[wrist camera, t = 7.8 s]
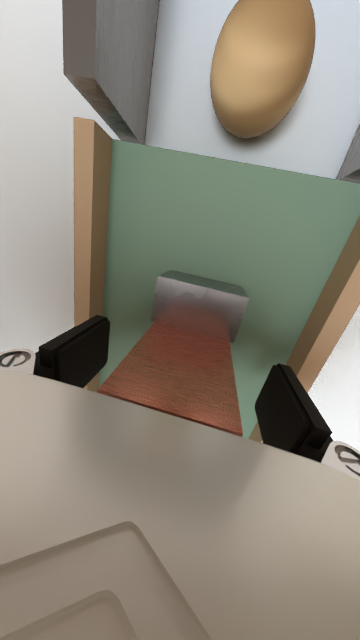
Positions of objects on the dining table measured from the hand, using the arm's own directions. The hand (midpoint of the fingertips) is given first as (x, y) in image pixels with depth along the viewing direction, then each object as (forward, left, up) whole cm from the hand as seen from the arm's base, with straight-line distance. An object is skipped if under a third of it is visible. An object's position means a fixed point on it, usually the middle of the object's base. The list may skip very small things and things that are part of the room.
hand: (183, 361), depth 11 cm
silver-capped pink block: (+1, 0, -3) cm, 3 cm away
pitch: (-1, -1, -4) cm, 5 cm away
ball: (+10, +9, -2) cm, 13 cm away
